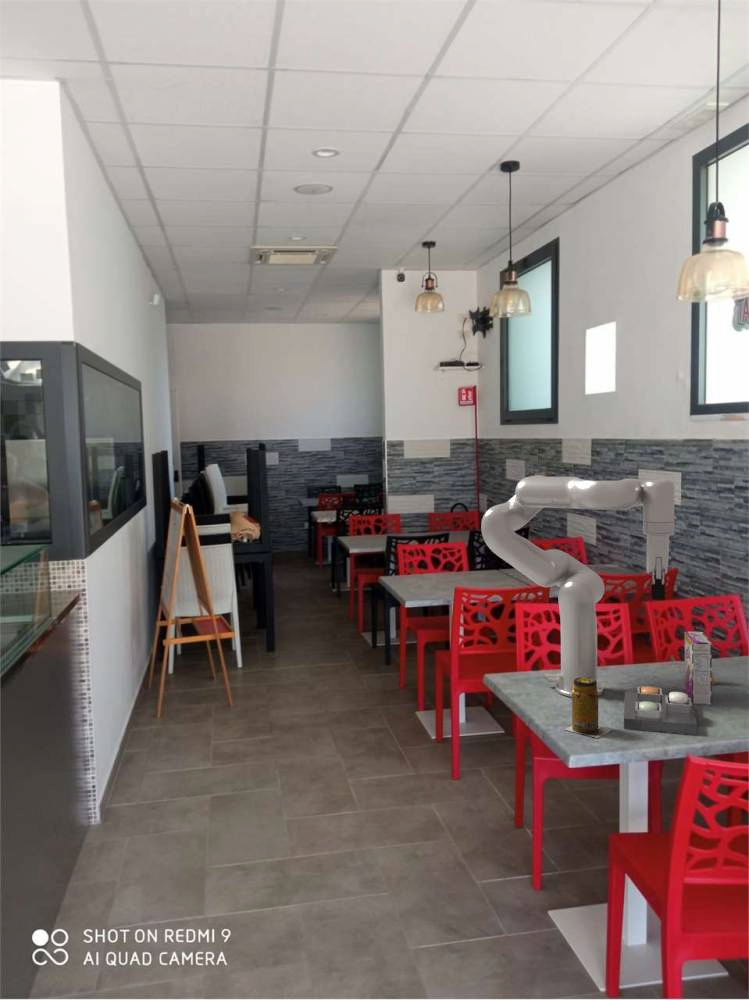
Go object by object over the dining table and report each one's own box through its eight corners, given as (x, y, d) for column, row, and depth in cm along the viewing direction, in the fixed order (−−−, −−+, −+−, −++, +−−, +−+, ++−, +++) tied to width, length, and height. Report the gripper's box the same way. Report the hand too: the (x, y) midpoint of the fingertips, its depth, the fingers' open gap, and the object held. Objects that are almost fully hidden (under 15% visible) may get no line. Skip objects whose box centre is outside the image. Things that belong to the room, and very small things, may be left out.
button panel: (623, 728, 185) (623, 710, 185) (625, 700, 204) (625, 683, 204) (696, 735, 180) (696, 716, 180) (690, 706, 199) (691, 688, 199)
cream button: (669, 704, 189) (669, 696, 189) (668, 699, 193) (668, 691, 193) (688, 706, 188) (688, 698, 188) (687, 700, 192) (687, 692, 191)
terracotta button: (640, 698, 197) (640, 690, 197) (640, 693, 201) (640, 685, 201) (658, 700, 195) (658, 692, 195) (658, 694, 199) (658, 686, 199)
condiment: (579, 721, 190) (579, 673, 189) (612, 730, 185) (612, 680, 184) (564, 730, 185) (564, 680, 184) (597, 739, 179) (597, 688, 178)
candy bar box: (683, 690, 211) (683, 631, 210) (703, 691, 210) (703, 631, 209) (691, 704, 200) (691, 641, 199) (712, 705, 199) (712, 642, 198)
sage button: (639, 714, 186) (639, 706, 185) (638, 708, 190) (638, 700, 189) (657, 716, 184) (657, 708, 184) (657, 710, 188) (657, 702, 188)
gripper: (642, 524, 207) (642, 592, 208) (643, 531, 193) (642, 604, 194) (672, 525, 205) (672, 594, 206) (675, 532, 190) (675, 606, 192)
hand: (658, 599), depth 200 cm, fingers closed
